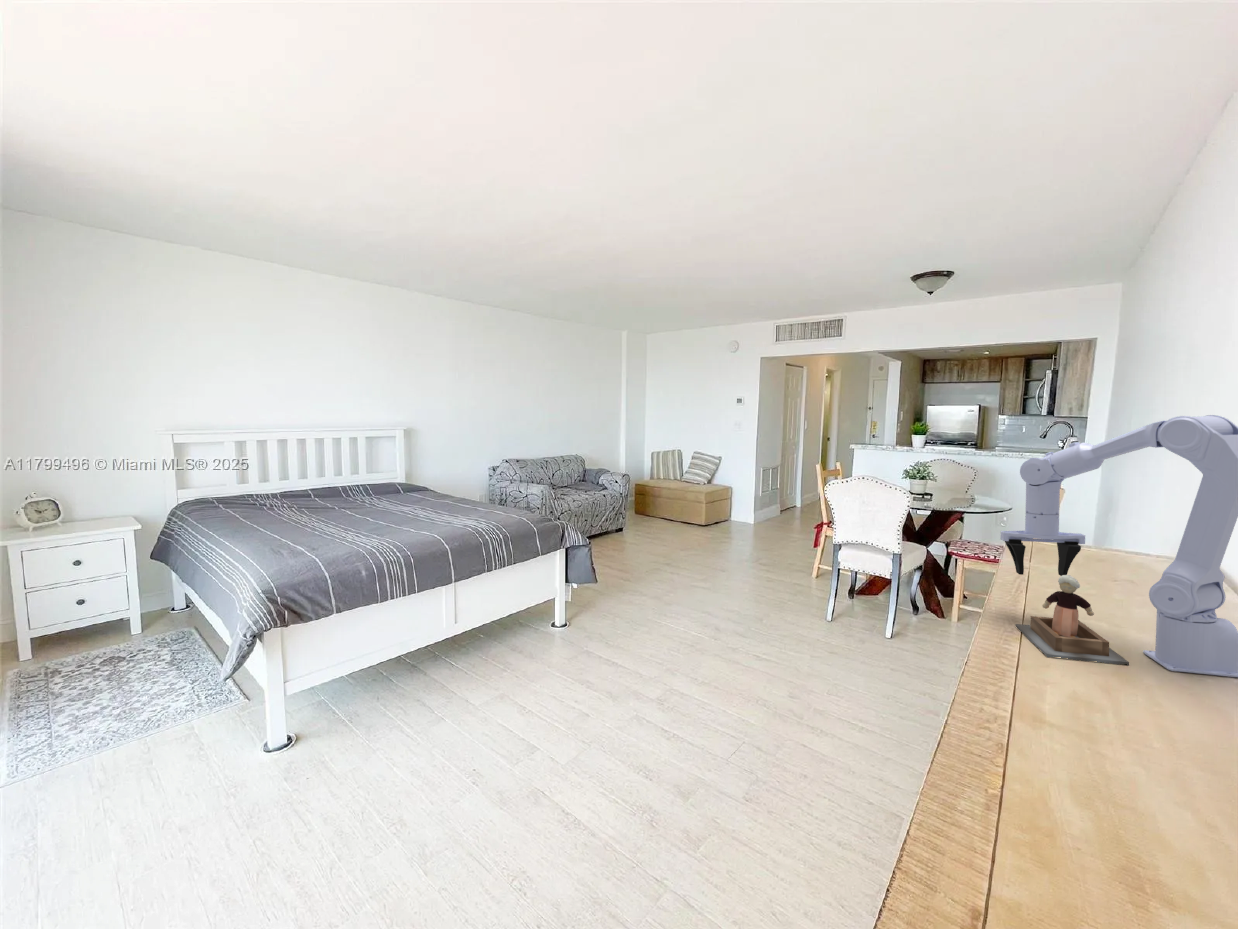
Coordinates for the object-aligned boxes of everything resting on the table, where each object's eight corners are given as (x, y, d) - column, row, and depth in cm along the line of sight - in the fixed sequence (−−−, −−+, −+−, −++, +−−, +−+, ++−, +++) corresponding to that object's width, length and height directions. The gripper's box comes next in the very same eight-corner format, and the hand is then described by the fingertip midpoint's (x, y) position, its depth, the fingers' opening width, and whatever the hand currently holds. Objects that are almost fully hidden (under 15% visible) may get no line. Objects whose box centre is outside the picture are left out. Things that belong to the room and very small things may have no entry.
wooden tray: (1084, 632, 108) (1085, 617, 108) (1128, 665, 93) (1129, 648, 93) (1015, 626, 112) (1015, 612, 112) (1046, 657, 97) (1047, 640, 97)
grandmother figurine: (1042, 636, 105) (1045, 574, 104) (1040, 631, 108) (1043, 570, 107) (1093, 645, 100) (1097, 580, 100) (1090, 639, 103) (1093, 576, 103)
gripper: (1074, 511, 115) (1073, 572, 115) (996, 509, 120) (995, 567, 120) (1090, 516, 108) (1089, 580, 109) (1007, 514, 113) (1006, 576, 114)
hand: (1040, 574), depth 114 cm, fingers open, 7 cm apart
